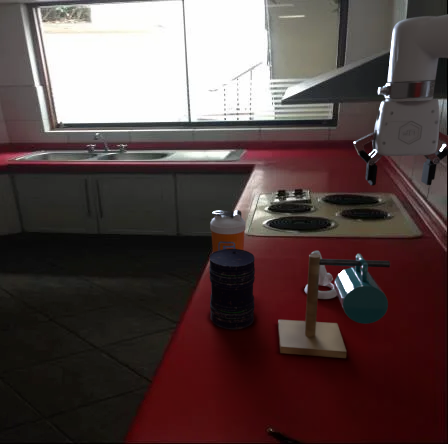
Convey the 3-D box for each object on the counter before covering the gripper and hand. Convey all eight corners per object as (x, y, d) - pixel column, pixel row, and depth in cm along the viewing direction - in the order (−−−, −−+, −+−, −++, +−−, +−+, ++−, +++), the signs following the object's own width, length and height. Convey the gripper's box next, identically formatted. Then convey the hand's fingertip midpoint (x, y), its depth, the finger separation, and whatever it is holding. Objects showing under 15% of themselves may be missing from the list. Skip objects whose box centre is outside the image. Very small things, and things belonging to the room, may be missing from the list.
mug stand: (372, 331, 87) (382, 247, 81) (386, 361, 77) (398, 269, 72) (278, 325, 91) (280, 245, 85) (280, 353, 82) (283, 265, 76)
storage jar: (250, 332, 89) (251, 268, 84) (205, 326, 92) (203, 264, 88) (257, 309, 98) (258, 250, 93) (216, 304, 101) (214, 247, 97)
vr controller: (306, 257, 112) (328, 249, 106) (322, 301, 108) (345, 295, 103) (288, 259, 107) (311, 250, 102) (304, 305, 104) (328, 298, 98)
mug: (341, 322, 75) (333, 300, 84) (386, 325, 74) (372, 302, 82) (345, 266, 72) (336, 250, 81) (392, 268, 71) (377, 251, 79)
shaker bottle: (210, 277, 116) (208, 207, 109) (242, 275, 115) (242, 206, 109) (212, 292, 107) (211, 218, 101) (247, 291, 107) (248, 216, 101)
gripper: (362, 95, 75) (354, 188, 80) (473, 89, 71) (457, 188, 76) (354, 94, 81) (347, 180, 87) (454, 89, 78) (440, 179, 83)
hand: (398, 183), depth 81 cm, fingers open, 9 cm apart
